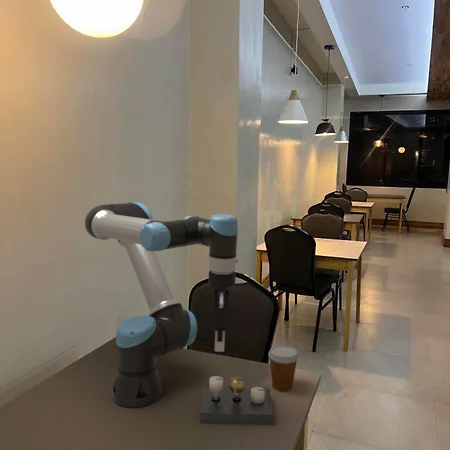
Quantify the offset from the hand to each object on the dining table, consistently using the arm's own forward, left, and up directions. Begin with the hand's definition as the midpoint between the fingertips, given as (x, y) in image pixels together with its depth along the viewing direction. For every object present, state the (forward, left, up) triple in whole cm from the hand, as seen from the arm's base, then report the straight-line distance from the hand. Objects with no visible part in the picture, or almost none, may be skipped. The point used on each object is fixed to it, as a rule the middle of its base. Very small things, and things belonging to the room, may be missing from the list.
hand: (219, 350), depth 127 cm
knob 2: (+11, +3, -18) cm, 21 cm away
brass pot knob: (+5, +1, -15) cm, 15 cm away
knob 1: (-1, -1, -15) cm, 15 cm away
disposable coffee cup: (+14, +19, -18) cm, 30 cm away
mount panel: (+5, +1, -18) cm, 19 cm away
